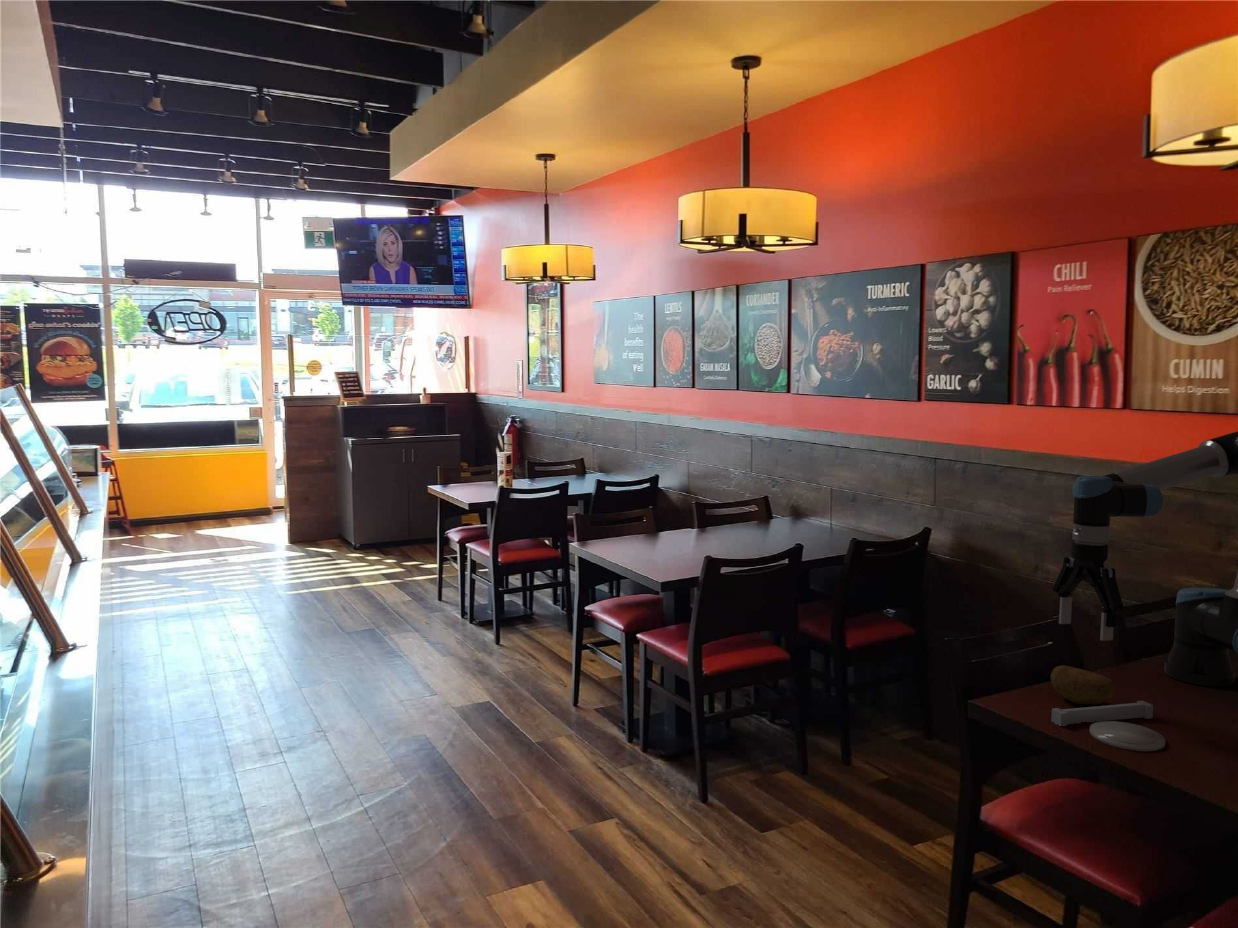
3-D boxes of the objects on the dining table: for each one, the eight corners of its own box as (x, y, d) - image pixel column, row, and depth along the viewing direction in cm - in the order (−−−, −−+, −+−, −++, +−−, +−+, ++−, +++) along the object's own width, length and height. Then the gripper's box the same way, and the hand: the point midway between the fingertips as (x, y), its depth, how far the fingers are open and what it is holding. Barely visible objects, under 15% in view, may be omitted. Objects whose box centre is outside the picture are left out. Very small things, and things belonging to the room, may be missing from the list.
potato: (1105, 716, 198) (1107, 682, 197) (1042, 699, 209) (1044, 667, 208) (1122, 705, 205) (1123, 672, 204) (1059, 690, 215) (1061, 658, 214)
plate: (1129, 722, 195) (1130, 717, 195) (1181, 748, 181) (1181, 743, 181) (1074, 727, 192) (1075, 722, 192) (1123, 754, 178) (1123, 749, 178)
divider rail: (1142, 713, 200) (1142, 700, 200) (1152, 718, 197) (1153, 705, 197) (1051, 721, 195) (1051, 708, 195) (1060, 726, 193) (1061, 713, 192)
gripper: (1039, 533, 214) (1035, 617, 216) (1116, 553, 190) (1110, 648, 192) (1066, 532, 216) (1062, 616, 218) (1146, 552, 191) (1140, 646, 194)
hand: (1084, 631), depth 205 cm, fingers open, 13 cm apart
